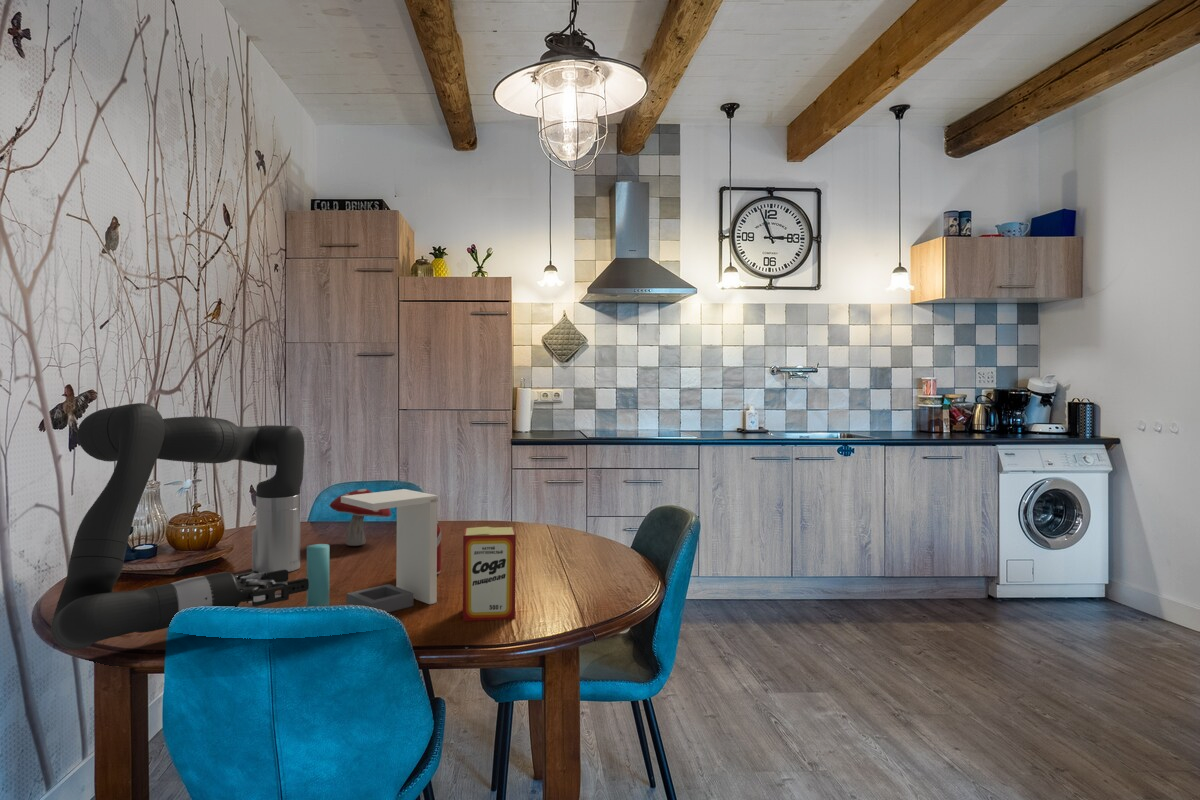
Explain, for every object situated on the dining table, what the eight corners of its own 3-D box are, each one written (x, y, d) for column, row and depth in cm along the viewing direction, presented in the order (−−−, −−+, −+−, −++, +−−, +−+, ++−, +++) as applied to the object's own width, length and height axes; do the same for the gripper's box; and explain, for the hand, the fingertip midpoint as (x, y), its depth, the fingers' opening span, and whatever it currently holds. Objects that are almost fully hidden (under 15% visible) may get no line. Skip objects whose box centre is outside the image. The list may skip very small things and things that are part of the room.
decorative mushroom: (346, 537, 194) (346, 484, 194) (400, 539, 193) (401, 485, 192) (317, 550, 179) (317, 492, 178) (376, 553, 177) (376, 494, 177)
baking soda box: (513, 607, 134) (514, 525, 134) (515, 618, 128) (515, 532, 128) (463, 609, 133) (464, 526, 133) (462, 621, 126) (463, 533, 126)
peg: (302, 611, 131) (302, 548, 130) (313, 605, 135) (313, 543, 134) (322, 612, 130) (323, 549, 130) (333, 606, 134) (333, 544, 134)
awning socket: (372, 619, 127) (373, 503, 126) (340, 605, 135) (340, 496, 134) (437, 602, 137) (438, 495, 137) (403, 590, 145) (404, 489, 145)
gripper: (217, 585, 113) (315, 566, 125) (187, 568, 122) (281, 552, 134) (217, 630, 113) (315, 607, 125) (187, 611, 122) (281, 591, 134)
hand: (297, 579), depth 129 cm, fingers open, 8 cm apart
